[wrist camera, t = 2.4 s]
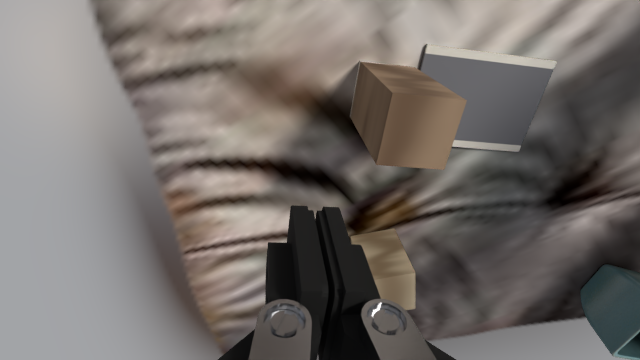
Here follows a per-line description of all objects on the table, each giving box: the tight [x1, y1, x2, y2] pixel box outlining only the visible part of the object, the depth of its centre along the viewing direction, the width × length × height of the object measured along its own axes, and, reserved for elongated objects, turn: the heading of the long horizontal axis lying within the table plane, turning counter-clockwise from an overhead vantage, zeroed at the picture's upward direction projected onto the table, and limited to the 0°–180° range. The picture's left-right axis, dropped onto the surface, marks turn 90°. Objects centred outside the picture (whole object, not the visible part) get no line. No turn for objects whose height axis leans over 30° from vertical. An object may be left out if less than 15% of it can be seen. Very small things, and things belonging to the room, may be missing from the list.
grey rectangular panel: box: [420, 44, 557, 152], centre depth 34 cm, size 12×9×1 cm
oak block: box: [350, 229, 415, 310], centre depth 39 cm, size 5×5×7 cm
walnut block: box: [350, 61, 467, 170], centre depth 28 cm, size 5×5×10 cm
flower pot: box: [580, 264, 640, 360], centre depth 45 cm, size 9×9×9 cm
